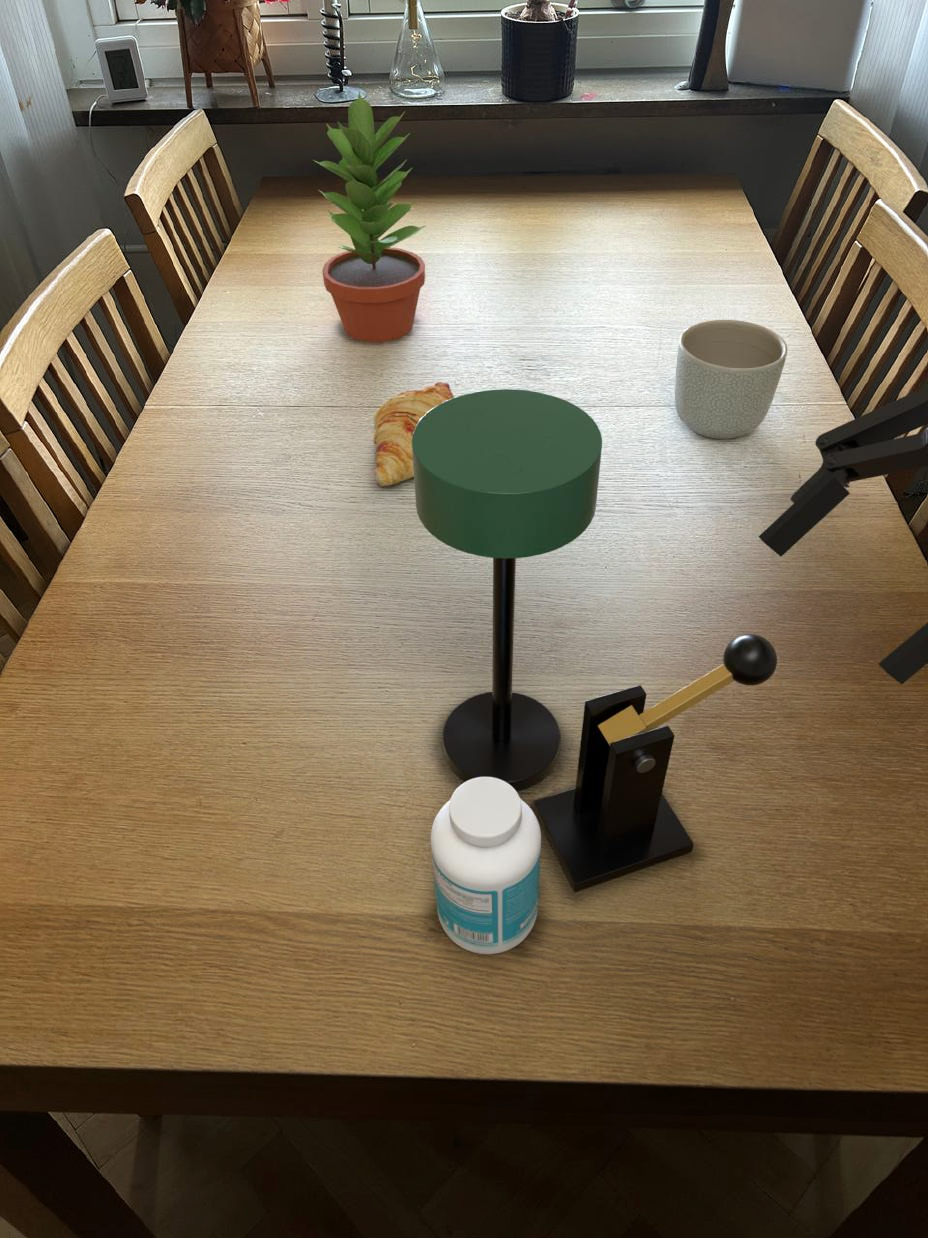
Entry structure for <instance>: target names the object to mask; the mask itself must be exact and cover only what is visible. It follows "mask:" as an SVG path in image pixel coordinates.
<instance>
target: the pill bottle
mask: <svg viewBox="0 0 928 1238" xmlns="http://www.w3.org/2000/svg"><path fill="white" fill-rule="evenodd" d="M540 826H541V825H540V822H539V820H538V818H537V816H536V814H535V812H534V810H533V809H532V808H530V806H529V805H528V804H527V803H526V802H525V801H524V800H522V799H521V798H520V795H519V793H518V791H517V792H516V790H515V789H514V788H513V787H512V786H511V785H509V784H508V783H506V782H505V781H503V780H500V779H497V778H493V777H477V778H474V779H470V780H468V781H466V782H464V781H463V783H462V784H461V783H460V785H459V786H458V787H457V788H456V789H455V790H454V792H453V793H452V795H451V797H450V799H449V800H448V801H447V802H445V804H444V805H443V806H442V807H441V808H440V810H439V811H438V813H437V814H436V816H435V818H434V820H433V823H432V826H431V830H430V851H431V860H432V871H433V881H434V890H435V902H436V910H437V916H438V921H439V923H440V925H441V927H442V929H443V931H444V933H445V934H446V936H447V937H448V938H449V939H450V940H451V941H452V942H453V943H454V944H456V945H457V946H458V947H460V948H462V949H464V950H466V951H467V952H468V951H469V952H471V953H474V954H478V955H495V954H501V953H504V952H507V951H509V950H512V949H513V948H515V947H517V946H518V945H519V944H521V943H522V942H523V941H524V940H525V939H526V938H527V937H528V935H529V934H530V933H531V931H532V930H533V928H534V925H535V923H536V920H537V917H538V909H539V893H540V891H539V890H540V872H541V871H540V870H541V869H540V868H541V851H542V832H541V827H540Z"/></svg>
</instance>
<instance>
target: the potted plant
mask: <svg viewBox="0 0 928 1238" xmlns="http://www.w3.org/2000/svg"><path fill="white" fill-rule="evenodd" d="M373 112H374V111H373V109H372V105H371V104H370V102H369V101H367V100H365V99H363V97H362V95H361V91H358V96H357V99H355V100H353V101H352V102H351V103H350V104H349V106H348V112H347V115H348V116H347V118H348V119H347V120H348V121H347V122H348V127H345V126H344V125H342V123H340V121H337V124H338V128H332V127H331V126H330V125H329V124H328V123H325V124H326V126H327V129H328V131H327V136H328V138H329V139H330V141H331V142H332V143H333V145H334V146H335V147H336V149H337V150H338V152H339V153H340V155H341V157H342V159H341V160H340V161H338V163H337V162H334V161H330V160H323V161H320V162H319V161H316V160H315V159H312V161H313V162H315V163H317V164H319V165H320V166H321V167H323V168H325V169H327V170H328V171H330V172H331V173H333V174H335V175H337V176H339V177H340V178H342V179H344V182H345V184H344V185H345V187H344V189H345V192H346V195H347V196H348V198H347V197H346V196H344V195H342V194H340V193H338V192H335V191H327V192H323V191H321V190H320V189H318V192H320V194H322V195H323V196H324V197H325V198H326V199H327V201H330V202H331V203H332V204H334V205H335V206H336V208H339V209H340V210H341V211H343V212H344V213H343V212H340V213H333V212H331V211H330V210H327V212H328V213H329V214H330V220H331V221H332V222H333V223H334V224H336V225H337V226H338V227H339V228H340V229H341V230H343V231H344V232H345V233H346V234H347V235H349V237H350V240H351V242H352V246H353V247H354V248H352V247H349V246H346V245H339V246H338V248H339V249H340V250H341V249H342V250H345V251H343V252H340V253H339V254H336V255H334V256H332V257H330V258H329V259H328V260H327V261H326V262H324V265H323V267H322V270H321V271H322V281H323V285H324V288H325V290H326V292H328V293H329V294H330V295H331V297H332V300H333V302H334V303H333V304H334V306H335V308H336V310H337V313H338V317H339V318H340V321H341V323H342V326H343V328H344V331H345V334H346V335H348V336H349V337H350V338H352V339H355V340H357V341H359V342H367V343H384V342H385V343H386V342H392V341H395V340H398V339H401V338H403V337H404V336H406V335H409V334H410V332H411V331H412V329H413V327H414V321H415V316H416V311H417V306H418V301H419V297H420V293H421V288H422V287H423V286H424V285H425V284H426V283H425V282H426V263H425V262H424V260H423V259H422V257H421V256H419V255H417V254H416V253H414V252H413V251H409V250H406V249H403V248H399V247H398V248H397V247H392V246H395V245H397V244H399V243H400V242H402V241H404V240H406V239H408V238H410V237H413V236H415V235H416V234H417V233H419V232H420V231H421V230H422V229H423V228H425V227H427V224H426V225H422V226H420V227H418V226H416V225H407V226H403V227H400V228H399V229H396V230H394V231H392V232H390V233H388V234H386V235H384V234H385V233H386V232H388V231H389V230H391V228H392V227H393V226H394V225H395V224H397V223H398V222H399V221H400V220H401V219H403V218H404V216H406V215H407V213H409V212H410V211H411V210H412V206H413V205H414V203H415V202H416V199H415V200H413V201H412V202H410V203H396V204H395V202H396V200H395V201H393V202H392V201H391V199H392V198H393V196H394V195H395V194H396V192H397V191H398V190H399V188H400V187H401V186H402V181H403V180H404V179H405V178H406V177H407V175H408V174H409V173H410V172H411V171H412V170H413V167H410V168H409V169H408V170H406V171H402V170H401V171H400V169H401V168H402V167H403V166H404V165H405V162H406V160H404V161H403V162H402V163H401V164H400V165H399V166H397V167H396V168H395V169H393V170H392V171H391V172H390V173H389V174H388V175H387V176H386V177H385V178H384V179H383V180H381V182H379V184H377V183H378V175H377V169H379V168H380V167H381V165H383V163H384V162H385V161H386V160H387V159H388V158H389V157H390V156H391V155H392V154H393V153H394V152H395V151H396V150H397V149H398V148H399V147H400V145H401V144H402V143H404V141H405V140H406V139H407V138H408V136H409V135H410V134H411V132H409V133H408V134H407V135H405V136H404V137H403V136H394V137H392V138H391V139H390V140H388V141H386V139H387V138H388V137H389V135H390V134H391V133H392V131H393V130H394V128H395V127H396V125H397V124H398V122H400V120H401V119H402V117H403V116H404V114H405V113H406V111H403V112H402V114H401V115H400V116H397V115H396V116H392V117H389V118H388V119H386V121H385V122H384V123H383V124H381V127H380V128H379V129H378V130H377V131H376V133H375V122H374V121H375V119H374V113H373ZM385 141H386V143H384V142H385ZM383 144H384V145H383ZM394 204H395V205H394ZM383 235H384V237H383ZM381 237H382V238H381ZM379 238H381V239H379Z"/></svg>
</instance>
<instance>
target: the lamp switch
mask: <svg viewBox="0 0 928 1238" xmlns="http://www.w3.org/2000/svg"><path fill="white" fill-rule="evenodd" d="M775 649H776V648H775V647H774V645H773V644H772V643H771V642H770V641H769V640H768V639H766V638H765V637H763V636H761V635H759V634H754V633H745V634H741V635H738V636H736V637H734V638H733V639H732V640H731V641H729V643H728V644H727V646H726V647H725V648H724V652H723V655H722V664H721V665H719V666H717V667H716V668H714V669H713V670H710V671H709V672H708V673H706V674H704V675H703V676H701V677H699V678H698V679H696V680H694V681H692V682H691V683H689V684H688V685H686V686H684V687H682V688H681V689H679V690H678V691H676V692H674V693H673V694H671V695H670V696H668V697H666V698H665V699H663V700H661V701H659V702H658V703H657V704H654V705H653V706H651V707H649V708H648V709H646V710H644V712H643V713H641V714H640V715H638V714H637V712H636V711H635V709H634V708H633V706H632V705H631V706H629V707H627V708H626V709H624V710H622V711H621V712H619V713H618V714H616V715H614V716H613V717H611V718H609V719H608V720H606V721H604V722H603V723H601V724H599V725H598V727H599V729H600V731H601V732H602V734H603V735H604V737H605V739H606V740H607V742H608V744H609V745H610V743H611V742H615V741H618V740H621V739H624V738H628V737H631V736H634V735H638V734H641V733H644V732H647V731H651V730H654V729H657V728H660V727H661V726H663V725H664V724H665V723H667V722H669V721H670V720H673V718H675V717H677V716H679V715H681V714H682V713H683V712H685V711H687V710H688V709H690V708H692V707H694V706H695V705H697V704H699V703H700V702H702V701H704V700H705V699H707V698H708V697H711V695H714V694H715V693H716V692H718V691H720V690H722V689H723V688H725V687H727V686H729V685H730V684H732V683H733V682H736V683H737V684H740V685H742V686H748V687H749V686H750V687H751V686H752V687H753V686H758V685H762V684H763V683H765V682H766V681H768V680H769V679H771V678H772V676H773V674H775V671H776V668H777V665H778V656H777V655H778V654H777V652H776V650H775Z"/></svg>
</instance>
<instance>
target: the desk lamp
mask: <svg viewBox="0 0 928 1238" xmlns="http://www.w3.org/2000/svg"><path fill="white" fill-rule="evenodd" d="M602 449H603V438H602V432H601V431H600V428H599V426H598V424H597V423H596V422H595V420H594V418H592V417H591V416H590V415H589V414H588V413H587V412H586V411H585V410H583V408H580V407H579V406H577V405H575V404H574V403H573V402H570V401H568V400H566V399H563V398H560V397H558V396H555V395H552V394H548V393H545V392H540V391H536V390H528V389H517V388H495V389H484V390H479V391H473V392H468V393H465V394H464V393H463V394H461V395H458V396H454V398H452V399H450V400H447V401H445V402H443V403H441V404H439V405H437V406H436V407H434V408H433V409H431V410H430V411H429V412H427V413H426V414H425V415H424V416H423V417H422V418H421V420H420V421H419V422H418V424H417V425H416V427H415V429H414V432H413V436H412V454H413V469H414V477H413V483H414V497H415V498H414V500H415V508H416V514H417V517H418V518H419V521H420V522H421V524H422V525H423V527H424V528H425V529H426V531H428V533H429V534H430V535H432V536H433V537H434V538H435V539H437V540H438V541H439V542H441V543H443V544H445V545H446V546H448V547H451V548H452V549H455V550H456V551H460V552H463V553H466V554H469V555H474V556H477V557H483V558H490V559H492V666H491V667H492V669H491V670H492V672H491V673H492V674H491V677H492V678H491V679H492V680H491V682H492V685H491V688H492V689H491V691H485V692H482V693H478V694H476V695H473V696H471V697H469V698H467V699H465V700H463V701H462V702H461V703H459V704H458V705H457V706H456V707H455V708H453V710H452V711H451V712H450V713H449V715H448V716H447V719H446V721H445V723H444V726H443V731H442V748H443V754H444V758H445V762H446V763H447V765H448V767H449V769H450V770H451V771H452V772H453V774H454V775H455V776H456V777H457V778H458V779H460V780H461V781H463V783H464V782H466V781H468V780H470V779H474V778H477V777H493V778H497V779H500V780H503V781H505V782H506V783H508V784H509V785H511V786H512V787H513V788H514V789H515V790H516V792H517V793H518V792H520V791H524V790H527V789H530V788H531V787H533V786H535V785H537V784H539V783H540V782H542V781H543V780H544V779H545V778H547V776H549V774H550V773H551V772H552V771H553V769H554V768H555V766H556V764H557V762H558V759H559V755H560V749H561V730H560V727H559V724H558V722H557V720H556V718H555V717H554V715H553V713H552V712H551V711H550V710H549V709H548V708H547V707H546V706H545V704H543V703H541V702H539V700H537V699H535V698H533V697H531V696H529V695H526V694H523V693H519V692H515V691H513V676H514V675H513V674H514V673H513V671H514V641H515V639H514V638H515V637H514V636H515V605H516V604H515V601H516V569H517V567H516V565H517V559H523V558H530V557H536V556H540V555H543V554H547V553H550V552H553V551H556V550H559V549H560V548H563V547H565V546H567V545H568V544H570V543H572V542H574V541H575V540H576V539H577V538H579V537H580V536H581V535H582V534H583V533H584V532H585V531H586V530H587V529H588V528H589V526H590V524H592V521H593V519H594V517H595V513H596V510H597V509H596V508H597V501H598V500H597V499H598V490H599V481H600V469H601V459H602Z"/></svg>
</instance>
